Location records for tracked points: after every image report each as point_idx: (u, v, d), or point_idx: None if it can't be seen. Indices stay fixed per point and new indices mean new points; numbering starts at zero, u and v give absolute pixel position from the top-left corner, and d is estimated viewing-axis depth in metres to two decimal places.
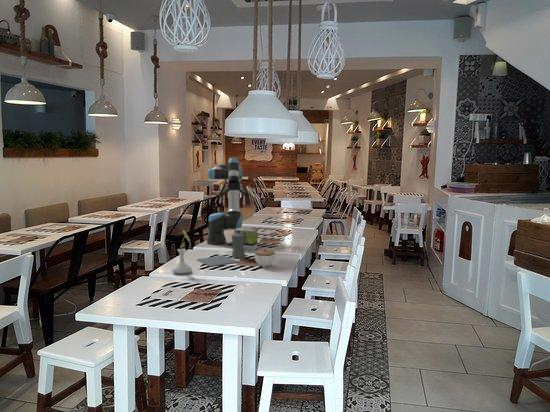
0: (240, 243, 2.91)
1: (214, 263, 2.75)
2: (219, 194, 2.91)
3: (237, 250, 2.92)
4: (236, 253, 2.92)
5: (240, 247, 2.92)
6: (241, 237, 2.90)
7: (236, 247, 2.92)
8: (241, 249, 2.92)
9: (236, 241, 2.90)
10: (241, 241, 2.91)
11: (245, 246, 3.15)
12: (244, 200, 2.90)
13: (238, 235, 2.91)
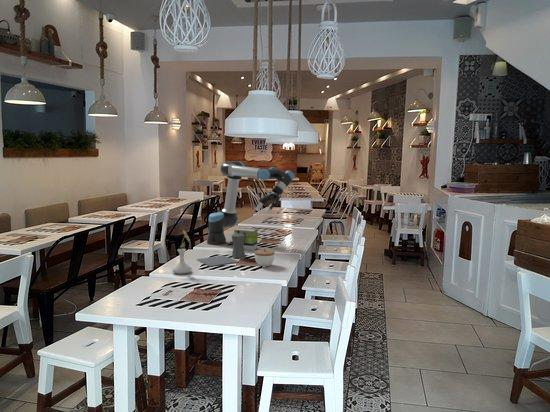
0: (240, 243, 2.91)
1: (214, 263, 2.75)
2: (276, 205, 2.98)
3: (237, 250, 2.92)
4: (236, 253, 2.92)
5: (240, 247, 2.92)
6: (241, 237, 2.90)
7: (236, 247, 2.92)
8: (241, 249, 2.92)
9: (236, 241, 2.90)
10: (241, 241, 2.91)
11: (245, 246, 3.15)
12: (259, 208, 3.10)
13: (238, 235, 2.91)
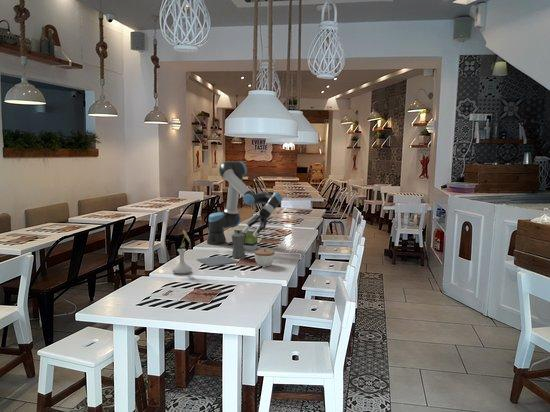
0: (240, 243, 2.91)
1: (214, 263, 2.75)
2: (263, 229, 2.93)
3: (237, 250, 2.92)
4: (236, 253, 2.92)
5: (240, 247, 2.92)
6: (241, 237, 2.90)
7: (236, 247, 2.92)
8: (241, 249, 2.92)
9: (236, 241, 2.90)
10: (241, 241, 2.91)
11: (245, 246, 3.15)
12: (246, 231, 3.05)
13: (238, 235, 2.91)
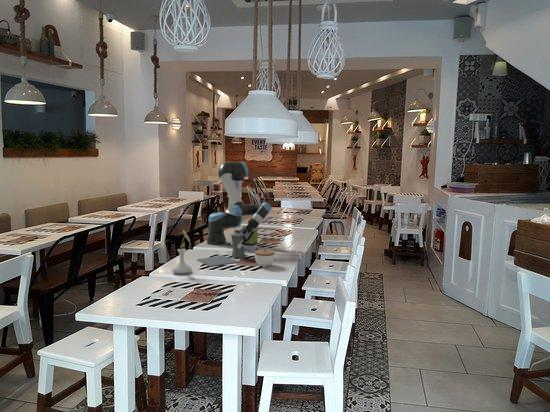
0: (239, 242, 2.91)
1: (214, 263, 2.75)
2: None
3: (237, 250, 2.92)
4: (236, 253, 2.92)
5: None
6: (241, 236, 2.91)
7: (236, 247, 2.92)
8: (241, 248, 2.92)
9: (236, 241, 2.91)
10: None
11: (245, 246, 3.15)
12: None
13: (237, 234, 2.91)
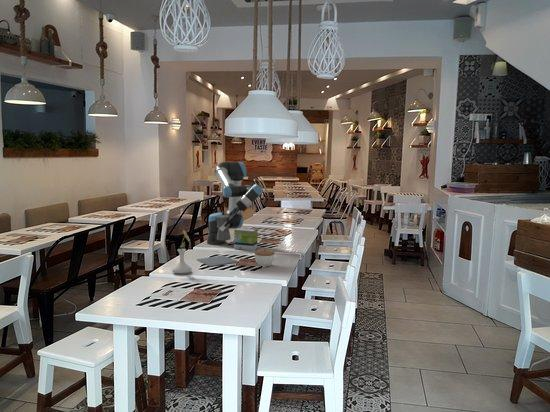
0: None
1: (214, 263, 2.75)
2: (230, 223, 2.77)
3: (220, 232, 2.80)
4: (219, 235, 2.80)
5: None
6: (224, 218, 2.78)
7: (219, 229, 2.80)
8: (225, 231, 2.80)
9: (219, 222, 2.79)
10: None
11: (245, 246, 3.15)
12: None
13: (221, 216, 2.79)
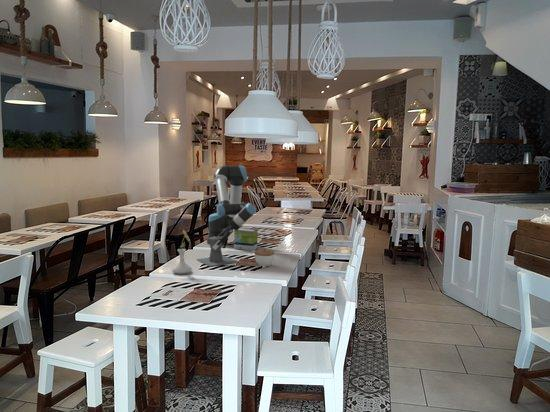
0: None
1: (214, 263, 2.75)
2: (223, 242, 2.72)
3: (212, 253, 2.78)
4: (211, 257, 2.79)
5: (215, 251, 2.78)
6: (215, 240, 2.76)
7: (211, 250, 2.79)
8: (216, 253, 2.78)
9: (211, 244, 2.78)
10: None
11: (245, 246, 3.15)
12: None
13: (213, 238, 2.77)
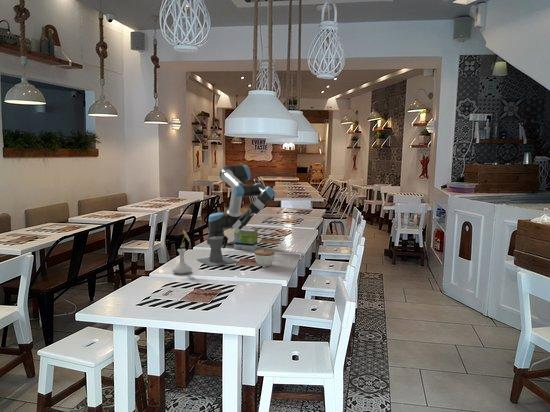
0: (214, 246, 2.77)
1: (214, 263, 2.75)
2: None
3: (212, 253, 2.78)
4: (211, 257, 2.79)
5: (215, 251, 2.78)
6: (215, 240, 2.76)
7: (211, 250, 2.79)
8: (216, 253, 2.78)
9: (211, 244, 2.78)
10: (216, 244, 2.77)
11: (245, 246, 3.15)
12: (237, 226, 2.90)
13: (213, 238, 2.77)
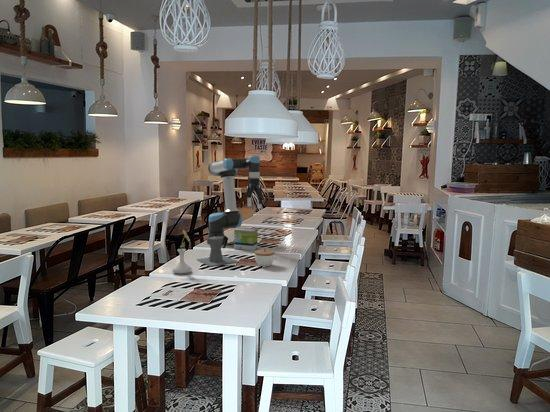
0: (214, 246, 2.77)
1: (214, 263, 2.75)
2: None
3: (212, 253, 2.78)
4: (211, 257, 2.79)
5: (215, 251, 2.78)
6: (215, 240, 2.76)
7: (211, 250, 2.79)
8: (216, 253, 2.78)
9: (211, 244, 2.78)
10: (216, 244, 2.77)
11: (245, 246, 3.15)
12: (250, 202, 3.15)
13: (213, 238, 2.77)
